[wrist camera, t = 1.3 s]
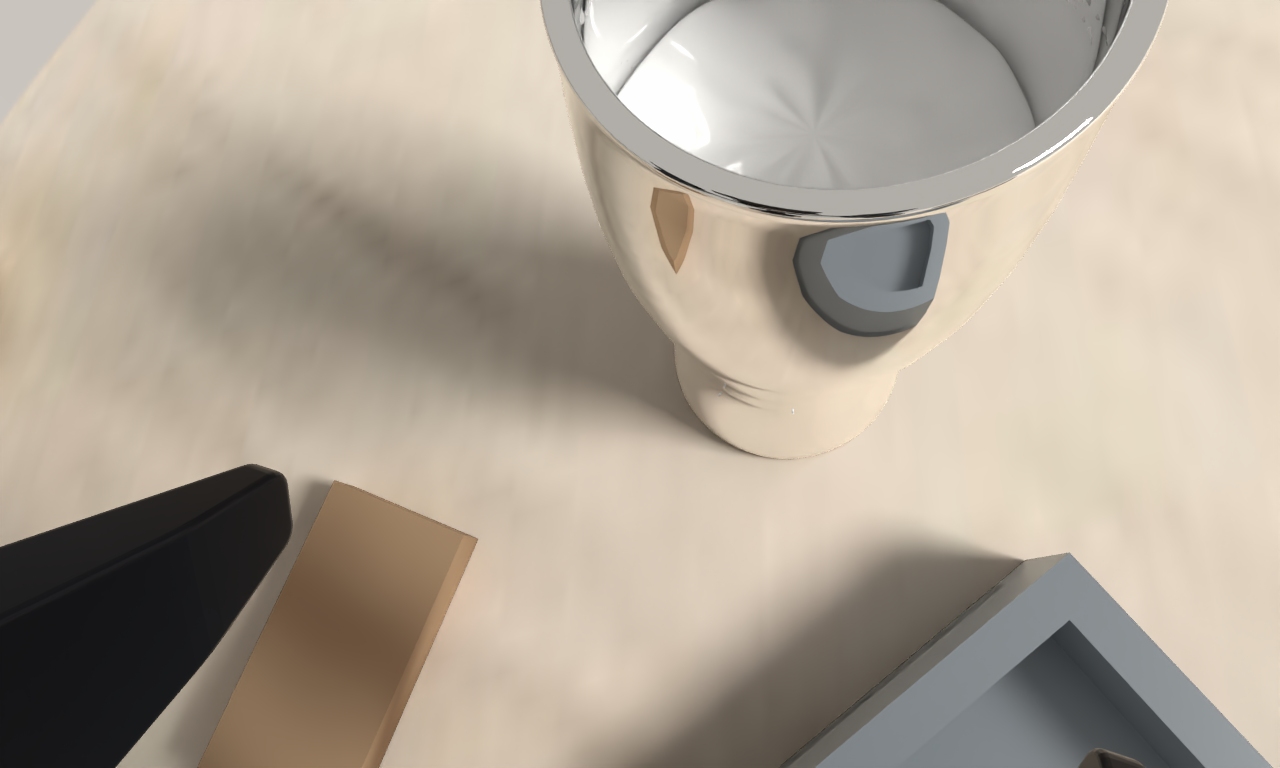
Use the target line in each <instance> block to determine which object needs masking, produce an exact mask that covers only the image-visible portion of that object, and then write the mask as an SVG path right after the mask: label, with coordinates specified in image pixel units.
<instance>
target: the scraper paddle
mask: <svg viewBox="0 0 1280 768" xmlns="http://www.w3.org/2000/svg"><path fill="white" fill-rule="evenodd" d="M477 540H478V539H477V538H475V537H472V536H470V535H468V534H465V533H463V532H461V531H458V530H456V529H454V528H451V527H449V526H446V525H444V524H442V523H439V522H437V521H435V520H432V519H430V518H427V517H425V516H423V515H420V514H418V513H416V512H413V511H411V510H409V509H406V508H404V507H401V506H399V505H397V504H394V503H392V502H390V501H387V500H385V499H383V498H380V497H378V496H375V495H373V494H371V493H368V492H366V491H364V490H361V489H359V488H357V487H354V486H351V485H347V484H344V483H341V482H338V481H334V482H333V484H332V486H331V488H330V490H329V492H328V495H327V497H326V499H325V501H324V503H323V505H322V507H321V509H320V511H319V513H318V516H317V518H316V520H315V522H314V524H313V526H312V528H311V530H310V532H309V534H308V537H307V539H306V541H305V543H304V545H303V547H302V549H301V551H300V553H299V555H298V557H297V560H296V562H295V564H294V566H293V568H292V570H291V572H290V574H289V576H288V578H287V581H286V583H285V585H284V587H283V589H282V591H281V593H280V595H279V597H278V599H277V601H276V604H275V606H274V608H273V610H272V612H271V614H270V616H269V618H268V620H267V622H266V625H265V627H264V629H263V631H262V633H261V635H260V637H259V639H258V641H257V643H256V646H255V648H254V650H253V652H252V654H251V656H250V658H249V660H248V662H247V664H246V666H245V669H244V671H243V673H242V675H241V677H240V679H239V681H238V683H237V685H236V687H235V690H234V692H233V694H232V696H231V698H230V700H229V702H228V704H227V706H226V708H225V711H224V713H223V715H222V717H221V719H220V721H219V723H218V725H217V727H216V729H215V731H214V734H213V736H212V738H211V740H210V742H209V744H208V746H207V748H206V750H205V752H204V755H203V757H202V759H201V761H200V763H199V765H198V767H197V768H379V766H380V764H381V761H382V759H383V757H384V754H385V752H386V750H387V748H388V745H389V743H390V741H391V738H392V736H393V734H394V731H395V729H396V727H397V725H398V722H399V720H400V718H401V715H402V713H403V711H404V708H405V706H406V704H407V702H408V699H409V697H410V695H411V692H412V690H413V688H414V685H415V683H416V681H417V679H418V676H419V674H420V672H421V669H422V667H423V665H424V662H425V660H426V658H427V656H428V653H429V651H430V649H431V646H432V644H433V642H434V639H435V637H436V635H437V632H438V630H439V628H440V626H441V623H442V621H443V619H444V616H445V614H446V612H447V609H448V607H449V605H450V603H451V600H452V598H453V596H454V593H455V591H456V589H457V586H458V584H459V582H460V580H461V577H462V575H463V573H464V570H465V568H466V566H467V563H468V561H469V559H470V557H471V554H472V552H473V550H474V547H475V545H476V543H477Z"/></svg>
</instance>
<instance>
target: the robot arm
mask: <svg viewBox="0 0 1280 768" xmlns="http://www.w3.org/2000/svg"><path fill="white" fill-rule="evenodd" d="M292 527H293V522H292V514H291V506H290V498H289V490H288V483H287V480H286V478H285V477H284V475H283V474H282V473H280V472H278V471H275V470H272V469H269V468H266V467H263V466H260V465H257V464H247V465H244V466H240V467H237V468H234V469H231V470H228V471H225V472H222V473H219V474H216V475H213V476H210V477H208V478H205V479H202V480H199V481H196V482H193V483H190V484H187V485H184V486H181V487H178V488H175V489H172V490H169V491H166V492H163V493H160V494H157V495H154V496H151V497H148V498H145V499H142V500H139V501H136V502H133V503H130V504H127V505H124V506H121V507H118V508H115V509H112V510H109V511H106V512H103V513H100V514H97V515H94V516H91V517H88V518H85V519H82V520H79V521H76V522H73V523H70V524H67V525H64V526H61V527H58V528H55V529H52V530H49V531H46V532H43V533H41V534H38V535H35V536H32V537H29V538H26V539H23V540H20V541H17V542H14V543H11V544H8V545H5V546H2V547H0V768H116V766H117V765H118V764H119V763H120V762H121V760H122V759H123V758H124V757H125V756H126V754H127V753H128V752H129V751H130V750H131V749H132V747H133V746H134V745H135V744H136V743H137V741H138V740H139V739H140V738H141V737H142V736H143V734H144V733H145V732H146V731H147V730H148V728H149V727H150V726H151V725H152V724H153V722H154V721H155V720H156V719H157V718H158V717H159V715H160V714H161V713H162V712H163V711H164V709H165V708H166V707H167V706H168V705H169V704H170V702H171V701H172V700H173V699H174V698H175V696H176V695H177V694H178V693H179V692H180V690H181V689H182V688H183V687H184V686H185V685H186V683H187V682H188V681H189V680H190V679H191V677H192V676H193V675H194V674H195V673H196V672H197V670H198V669H199V668H200V667H201V665H202V664H203V663H204V662H205V660H206V659H207V658H208V657H209V655H210V654H211V653H212V652H213V650H214V649H215V648H216V646H217V645H218V644H219V642H220V641H221V639H222V638H223V637H224V635H225V634H226V633H227V631H228V630H229V628H230V627H231V625H232V624H233V622H234V621H235V619H236V618H237V617H238V615H239V614H240V612H241V611H242V609H243V608H244V606H245V605H246V603H247V602H248V601H249V599H250V598H251V596H252V595H253V593H254V592H255V590H256V589H257V587H258V586H259V585H260V583H261V582H262V580H263V579H264V577H265V576H266V574H267V573H268V571H269V570H270V569H271V567H272V566H273V564H274V563H275V561H276V560H277V558H278V557H279V555H280V554H281V553H282V551H283V550H284V548H285V547H286V545H287V543H288V541H289V539H290V536H291V533H292ZM1078 768H1145V767H1144V766H1143V765H1142V764H1141V763H1140V762H1138V761H1137V760H1135V759H1132V758H1129V757H1126V756H1123V755H1120V754H1117V753H1114V752H1111V751H1108V750H1105V749H1102V748H1095V749H1093V750H1091V751H1089V753H1088V754H1087V755H1086V756H1085V757H1084V759H1083V760H1082V762H1081V763H1080V765H1079V766H1078Z"/></svg>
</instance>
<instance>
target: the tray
mask: <svg viewBox="0 0 1280 768" xmlns="http://www.w3.org/2000/svg"><path fill="white" fill-rule="evenodd" d="M1095 748H1102V749H1105V750H1108V751H1111V752H1114V753H1117V754H1120V755H1123V756H1126V757H1129V758H1132V759H1135V760H1137V761H1138V762H1140V763H1141V764H1142V765H1143V766H1144V767H1145V768H1273V767H1272V766H1271V765H1270V764H1269V763H1268V762H1267V761H1266V760H1265V759H1264V758H1263V757H1262V756H1261V755H1260V754H1259V753H1258V751H1257V750H1256V749H1255V748H1254V747H1253V746H1252V745H1251V744H1250V743H1249V742H1248V741H1247V740H1246V739H1245V738H1244V737H1243V736H1242V735H1241V733H1240V732H1239V731H1238V730H1237V729H1236V728H1235V727H1234V726H1233V725H1232V724H1231V723H1230V722H1229V721H1228V720H1227V719H1226V718H1225V717H1224V716H1223V714H1222V713H1221V712H1220V711H1219V710H1218V709H1217V708H1216V707H1215V706H1214V705H1213V704H1212V703H1211V702H1210V701H1209V700H1208V699H1207V698H1206V696H1205V695H1204V694H1203V693H1202V692H1201V691H1200V690H1199V689H1198V688H1197V687H1196V686H1195V685H1194V684H1193V683H1192V682H1191V681H1190V680H1189V678H1188V677H1187V676H1186V675H1185V674H1184V673H1183V672H1182V671H1181V670H1180V669H1179V668H1178V667H1177V666H1176V665H1175V664H1174V663H1173V662H1172V660H1171V659H1170V658H1169V657H1168V656H1167V655H1166V654H1165V653H1164V652H1163V651H1162V650H1161V649H1160V648H1159V647H1158V646H1157V645H1156V644H1155V643H1154V641H1153V640H1152V639H1151V638H1150V637H1149V636H1148V635H1147V634H1146V633H1145V632H1144V631H1143V630H1142V629H1141V628H1140V627H1139V626H1138V625H1137V623H1136V622H1135V621H1134V620H1133V619H1132V618H1131V617H1130V616H1129V615H1128V614H1127V613H1126V612H1125V611H1124V610H1123V609H1122V608H1121V607H1120V605H1119V604H1118V603H1117V602H1116V601H1115V600H1114V599H1113V598H1112V597H1111V596H1110V595H1109V594H1108V593H1107V592H1106V591H1105V590H1104V589H1103V587H1102V586H1101V585H1100V584H1099V583H1098V582H1097V581H1096V580H1095V579H1094V578H1093V577H1092V576H1091V575H1090V574H1089V573H1088V572H1087V571H1086V569H1085V568H1084V567H1083V566H1082V565H1081V564H1080V563H1079V562H1078V561H1077V560H1076V559H1075V558H1074V557H1073V556H1072V555H1071V554H1070V553H1064V554H1058V555H1052V556H1046V557H1041V558H1035V559H1029V560H1025V561H1024V562H1023V563H1022V564H1020V565H1019V566H1018V567H1017V568H1016V569H1014V570H1013V571H1012V572H1011V573H1010V574H1008V575H1007V576H1006V577H1005V578H1004V579H1003V580H1001V581H1000V582H999V583H998V584H997V585H995V586H994V587H993V588H992V589H991V590H989V591H988V592H987V593H986V594H985V595H983V596H982V597H981V598H980V599H979V600H978V601H976V602H975V603H974V604H973V605H972V606H970V607H969V608H968V609H967V610H966V611H964V612H963V613H962V614H961V615H960V616H958V617H957V618H956V619H955V620H954V621H953V622H951V623H950V624H949V625H948V626H947V627H945V628H944V629H943V630H942V631H941V632H939V633H938V634H937V635H936V636H935V637H933V638H932V639H931V640H930V641H929V642H928V643H926V644H925V645H924V646H923V647H922V648H920V649H919V650H918V651H917V652H916V653H914V654H913V655H912V656H911V657H910V658H909V659H907V660H906V661H905V662H904V663H903V664H901V665H900V666H899V667H898V668H897V669H895V670H894V671H893V672H892V673H891V674H889V675H888V676H887V677H886V678H885V679H884V680H882V681H881V682H880V683H879V684H878V685H876V686H875V687H874V688H873V689H872V690H870V691H869V692H868V693H867V694H866V695H864V696H863V697H862V698H861V699H860V700H859V701H857V702H856V703H855V704H854V705H853V706H851V707H850V708H849V709H848V710H847V711H845V712H844V713H843V714H842V715H841V716H839V717H838V718H837V719H836V720H835V721H834V722H832V723H831V724H830V725H829V726H828V727H826V728H825V729H824V730H823V731H822V732H820V733H819V734H818V735H817V736H816V737H815V738H813V739H812V740H811V741H810V742H809V743H807V744H806V745H805V746H804V747H803V748H801V749H800V750H799V751H798V752H797V753H795V754H794V755H793V756H792V757H791V758H790V759H788V760H787V761H786V762H785V763H784V764H782V765H781V766H780V767H779V768H1078V766H1079V765H1080V763H1081V762H1082V760H1083V759H1084V757H1085V756H1086V755H1087V754H1088V753H1089V751H1091V750H1093V749H1095Z"/></svg>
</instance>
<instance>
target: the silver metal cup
mask: <svg viewBox="0 0 1280 768" xmlns="http://www.w3.org/2000/svg"><path fill="white" fill-rule="evenodd" d="M1168 4H1169V0H540V6H541V12H542V18H543V23H544V26H545V30H546V34H547V37H548V40H549V43H550V46H551V49H552V51H553V54H554V57H555V59H556V61H557V65H558V69H559V73H560V77H561V82H562V87H563V92H564V97H565V102H566V107H567V112H568V117H569V121H570V125H571V129H572V133H573V137H574V142H575V146H576V150H577V154H578V158H579V162H580V166H581V170H582V173H583V176H584V179H585V183H586V186H587V189H588V192H589V195H590V198H591V201H592V204H593V207H594V210H595V213H596V216H597V219H598V222H599V225H600V227H601V230H602V232H603V235H604V237H605V239H606V241H607V243H608V245H609V247H610V250H611V252H612V254H613V256H614V258H615V260H616V262H617V264H618V266H619V268H620V271H621V273H622V275H623V276H624V278H625V280H626V282H627V284H628V285H629V287H630V289H631V290H632V292H633V293H634V295H635V297H636V298H637V299H638V301H639V302H640V303H641V305H642V306H643V307H644V308H645V310H646V311H647V312H648V313H649V315H650V316H651V317H652V319H653V320H654V321H655V322H656V324H657V325H658V326H659V327H660V329H661V330H662V331H663V332H664V333H665V334H666V336H667V337H668V338H669V339H670V340H671V341H672V342H673V343H674V344H675V345H674V355H675V365H676V371H677V376H678V380H679V383H680V386H681V389H682V391H683V394H684V396H685V398H686V400H687V402H688V403H689V405H690V407H691V408H692V410H693V411H694V413H695V414H696V415H697V417H698V418H699V419H700V420H701V421H702V422H703V424H704V425H705V426H706V427H707V428H709V429H710V430H711V431H712V432H713V433H714V434H716V435H717V436H718V437H720V438H721V439H723V440H724V441H726V442H727V443H729V444H731V445H733V446H735V447H737V448H739V449H742V450H744V451H747V452H749V453H752V454H756V455H760V456H764V457H770V458H778V459H798V458H806V457H811V456H815V455H819V454H822V453H825V452H828V451H830V450H833V449H835V448H837V447H839V446H842V445H843V444H845V443H847V442H849V441H851V440H852V439H854V438H855V437H857V436H858V435H859V434H861V433H862V432H863V431H864V430H865V429H866V428H867V427H868V426H869V425H870V424H871V423H872V422H873V421H874V420H875V419H876V418H877V416H878V415H879V414H880V412H881V411H882V410H883V408H884V406H885V405H886V403H887V401H888V399H889V397H890V395H891V393H892V390H893V388H894V385H895V383H896V379H897V375H898V372H899V371H901V370H903V369H904V368H906V367H908V366H909V365H911V364H913V363H914V362H916V361H917V360H919V359H920V358H921V357H923V356H924V355H926V354H927V353H928V352H930V351H931V350H933V349H934V348H935V347H937V346H938V345H939V344H941V343H942V342H944V341H945V340H946V339H948V338H949V337H950V336H952V335H953V334H954V333H955V332H957V331H958V330H959V329H960V328H961V327H962V326H964V325H965V324H966V323H967V322H968V321H969V320H970V319H971V318H972V317H973V316H974V315H975V314H976V313H977V311H978V310H979V309H980V308H981V307H982V306H983V305H984V304H985V303H986V301H987V300H988V299H989V298H990V297H991V296H992V295H993V294H994V292H995V291H996V290H997V289H998V288H999V287H1000V286H1001V285H1002V283H1003V282H1004V281H1005V280H1006V279H1007V278H1008V277H1009V275H1010V274H1011V273H1012V272H1013V271H1014V269H1015V268H1016V267H1017V265H1018V264H1019V262H1020V261H1021V260H1022V258H1023V257H1024V255H1025V254H1026V252H1027V251H1028V249H1029V248H1030V246H1031V245H1032V244H1033V242H1034V241H1035V239H1036V238H1037V236H1038V235H1039V233H1040V232H1041V230H1042V229H1043V228H1044V226H1045V225H1046V223H1047V222H1048V220H1049V219H1050V217H1051V216H1052V214H1053V213H1054V211H1055V210H1056V208H1057V206H1058V204H1059V203H1060V201H1061V199H1062V198H1063V196H1064V194H1065V192H1066V191H1067V189H1068V187H1069V185H1070V184H1071V182H1072V180H1073V178H1074V177H1075V175H1076V173H1077V172H1078V170H1079V168H1080V166H1081V165H1082V163H1083V161H1084V159H1085V158H1086V156H1087V154H1088V152H1089V150H1090V148H1091V146H1092V145H1093V143H1094V141H1095V139H1096V137H1097V135H1098V133H1099V131H1100V129H1101V128H1102V126H1103V124H1104V122H1105V120H1106V118H1107V116H1108V115H1109V113H1110V111H1111V109H1112V108H1113V106H1114V104H1115V102H1116V101H1117V100H1118V98H1119V97H1120V96H1121V95H1122V93H1123V92H1124V91H1125V90H1126V88H1127V87H1128V86H1129V84H1130V83H1131V81H1132V80H1133V79H1134V77H1135V76H1136V74H1137V73H1138V71H1139V69H1140V68H1141V66H1142V64H1143V63H1144V61H1145V59H1146V57H1147V56H1148V54H1149V52H1150V50H1151V48H1152V46H1153V44H1154V42H1155V39H1156V37H1157V35H1158V33H1159V30H1160V27H1161V25H1162V22H1163V19H1164V16H1165V13H1166V10H1167V7H1168Z"/></svg>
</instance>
